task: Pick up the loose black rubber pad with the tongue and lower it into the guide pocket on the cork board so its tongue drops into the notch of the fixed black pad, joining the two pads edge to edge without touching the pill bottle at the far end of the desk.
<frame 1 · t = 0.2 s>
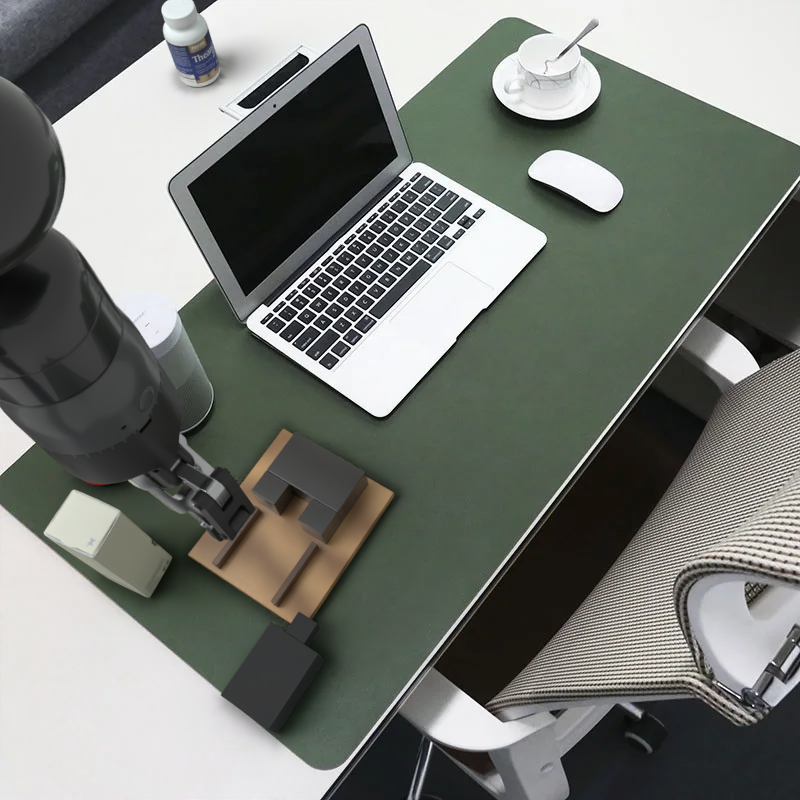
hand: (179, 497, 58), 21 cm above the table, tool pointing down, fingers open, 8 cm apart
beverage can: (108, 459, 83), on the table
dock: (293, 526, 78), on the table
box: (139, 568, 78), on the table
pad: (277, 681, 72), on the table
pill bottle: (201, 74, 107), on the table
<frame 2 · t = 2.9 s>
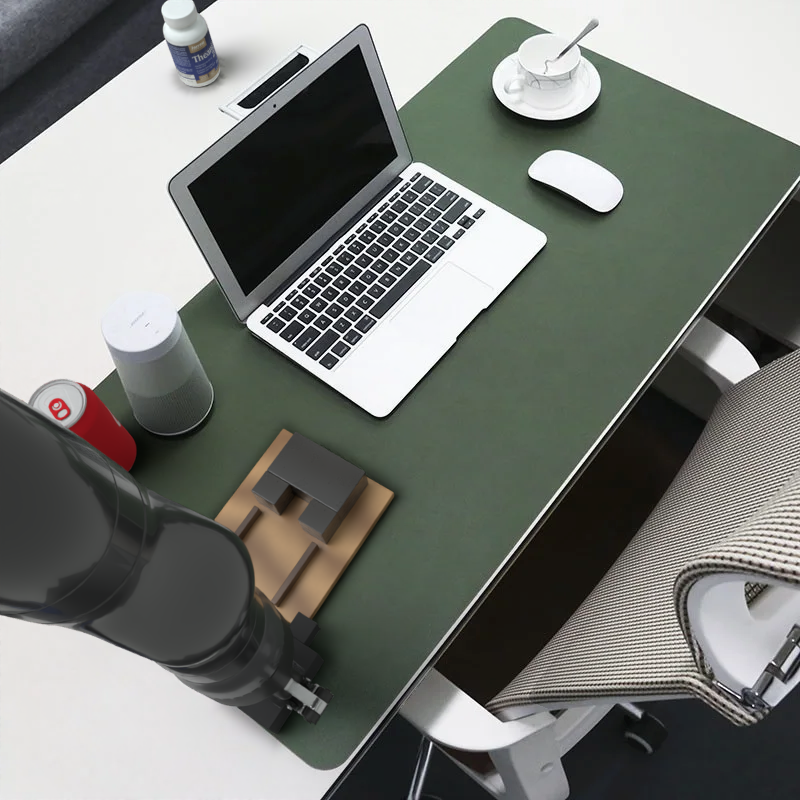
hand: (276, 679, 72), 1 cm above the table, tool pointing down, fingers closed on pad, 5 cm apart
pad: (277, 680, 72), on the table, touching gripper
everything else where it was.
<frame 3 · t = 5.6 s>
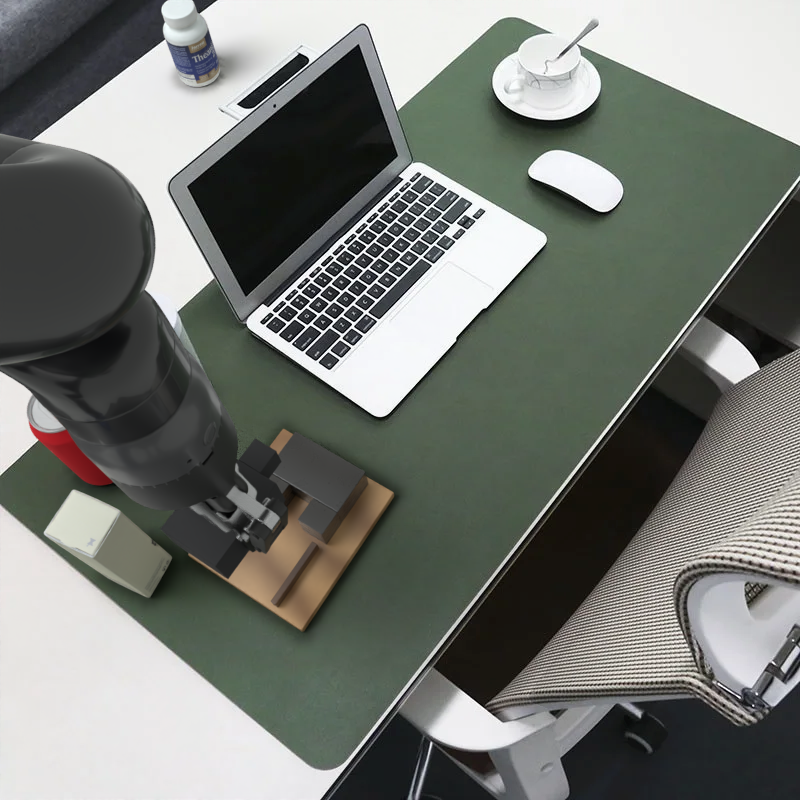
hand: (229, 519, 61), 17 cm above the table, tool pointing down, fingers closed on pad, 5 cm apart
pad: (231, 521, 62), point 16 cm above the table, touching gripper
everything else where it was.
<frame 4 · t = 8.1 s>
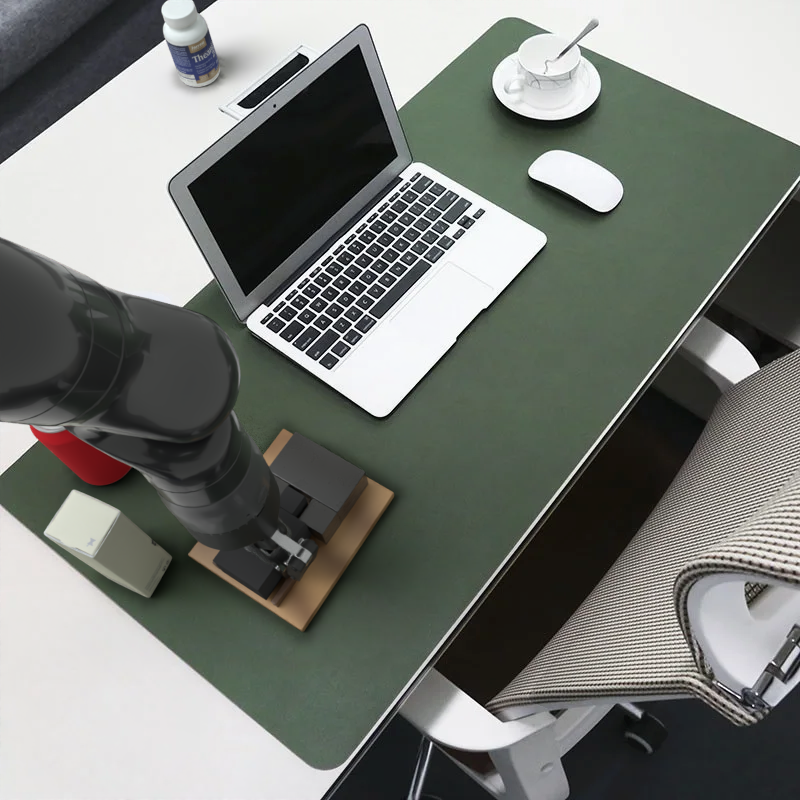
hand: (266, 551, 75), 2 cm above the table, tool pointing down, fingers closed on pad, 5 cm apart
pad: (267, 553, 76), point 2 cm above the table, touching gripper
everything else where it was.
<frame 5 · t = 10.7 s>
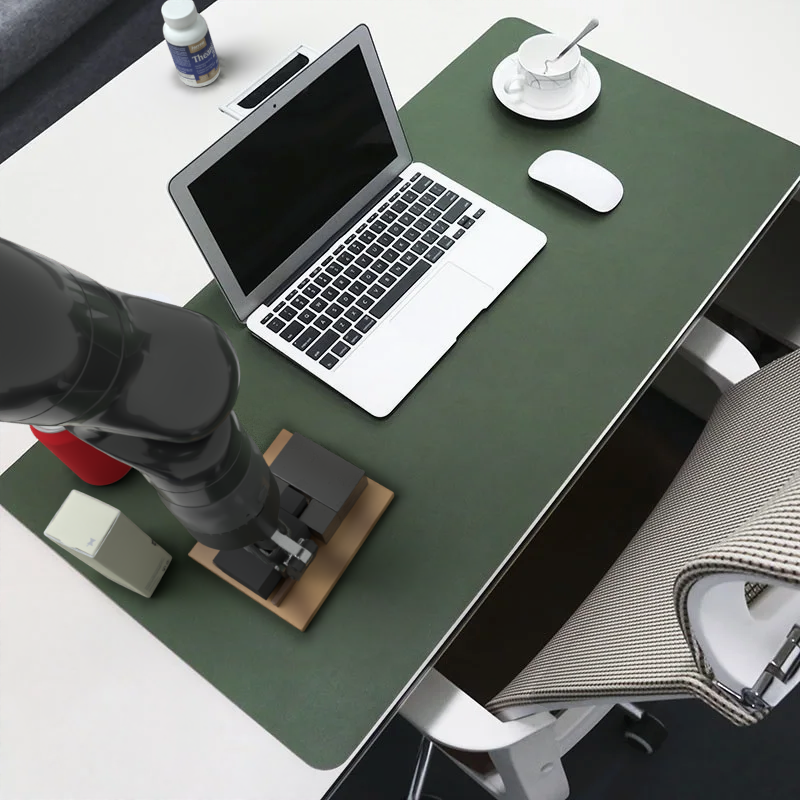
hand: (265, 551, 75), 2 cm above the table, tool pointing down, fingers closed on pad, 5 cm apart
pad: (267, 553, 76), point 2 cm above the table, touching gripper
everything else where it was.
when the fingers open (3 cm above the table, at t = 12.9 s): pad stays where it is, resting on dock.
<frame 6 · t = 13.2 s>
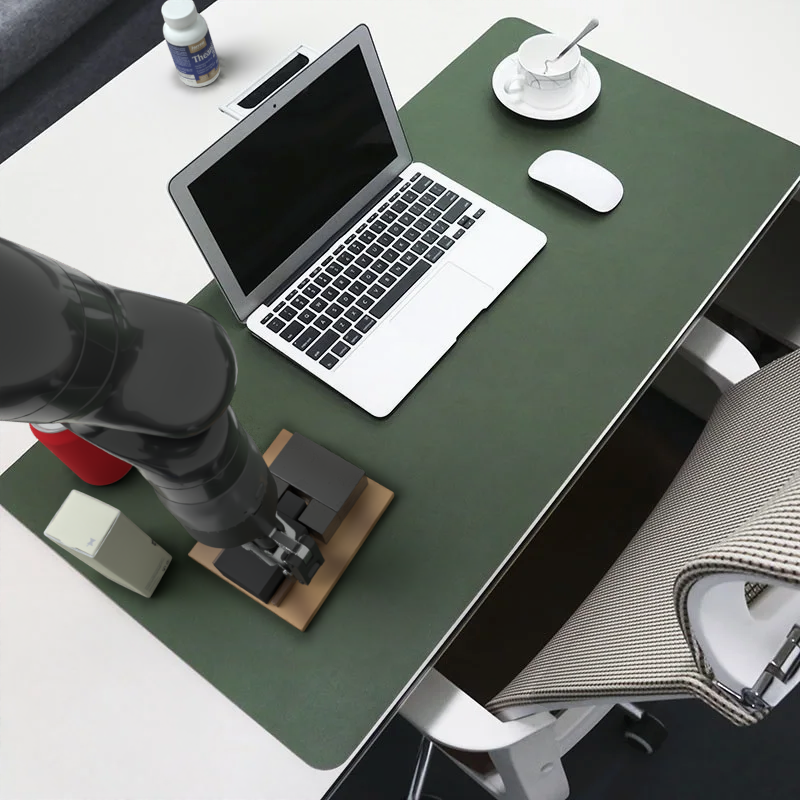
hand: (262, 548, 74), 3 cm above the table, tool pointing down, fingers open, 7 cm apart
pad: (267, 557, 76), point 1 cm above the table, touching dock
everything else where it was.
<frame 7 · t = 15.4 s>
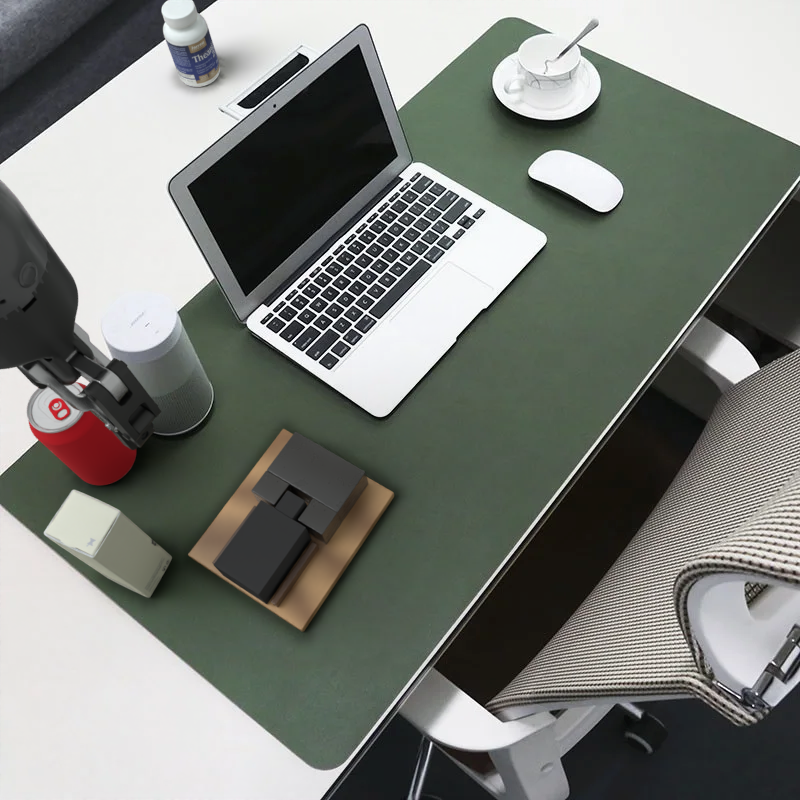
hand: (94, 406, 57), 25 cm above the table, tool pointing down, fingers open, 8 cm apart
nothing on the table moved.
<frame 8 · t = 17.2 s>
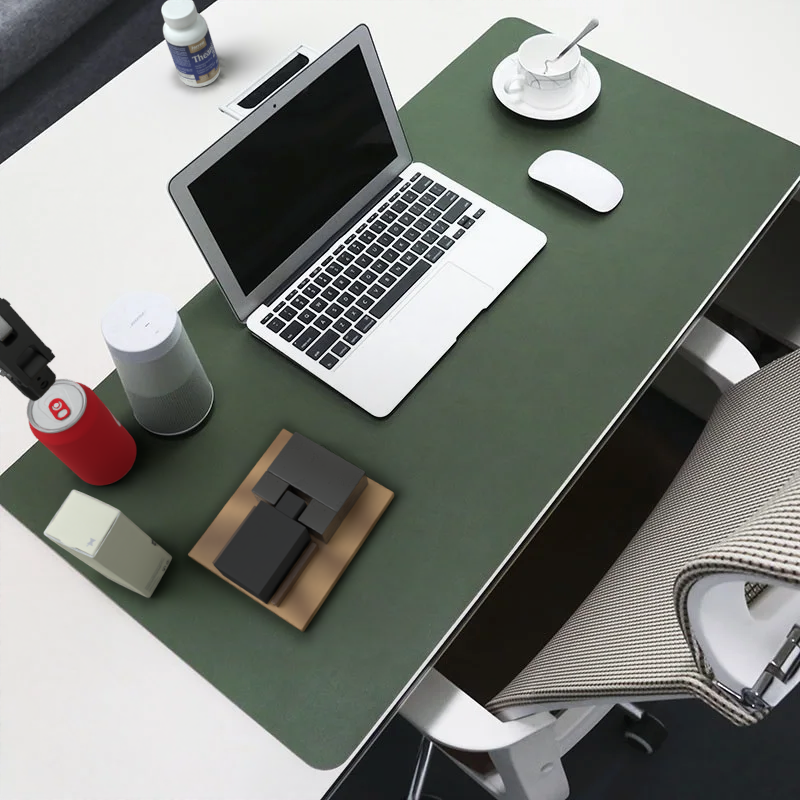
nothing on the table moved.
at the end: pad 0.1 cm from the target spot on the dock, point 1.0 cm above the dock's base; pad tilted 0°; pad touching dock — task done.
